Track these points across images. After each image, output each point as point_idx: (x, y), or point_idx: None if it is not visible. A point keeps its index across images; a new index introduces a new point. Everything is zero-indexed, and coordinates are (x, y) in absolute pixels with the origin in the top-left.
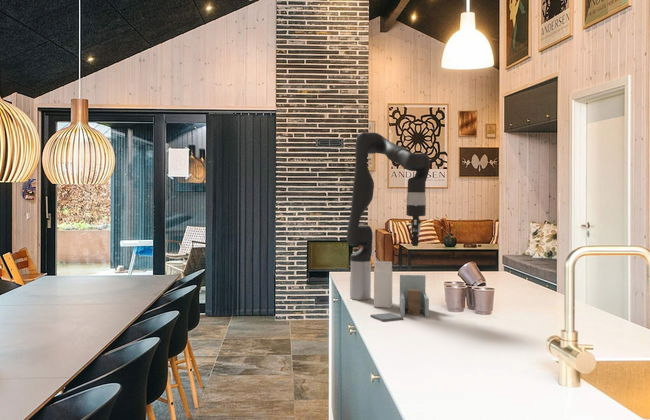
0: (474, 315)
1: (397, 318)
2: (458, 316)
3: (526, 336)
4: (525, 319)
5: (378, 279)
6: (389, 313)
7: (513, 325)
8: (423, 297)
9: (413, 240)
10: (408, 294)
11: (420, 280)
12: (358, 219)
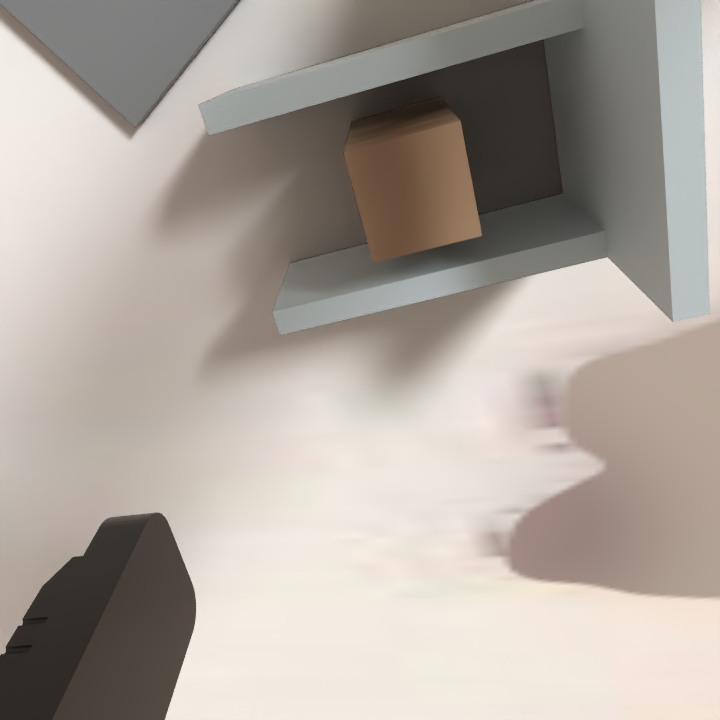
0: (448, 511)
1: (94, 88)
2: (388, 440)
3: None
4: (426, 694)
5: None
6: None
7: (271, 658)
8: (477, 252)
9: (2, 666)
10: (347, 146)
11: (644, 248)
12: None
